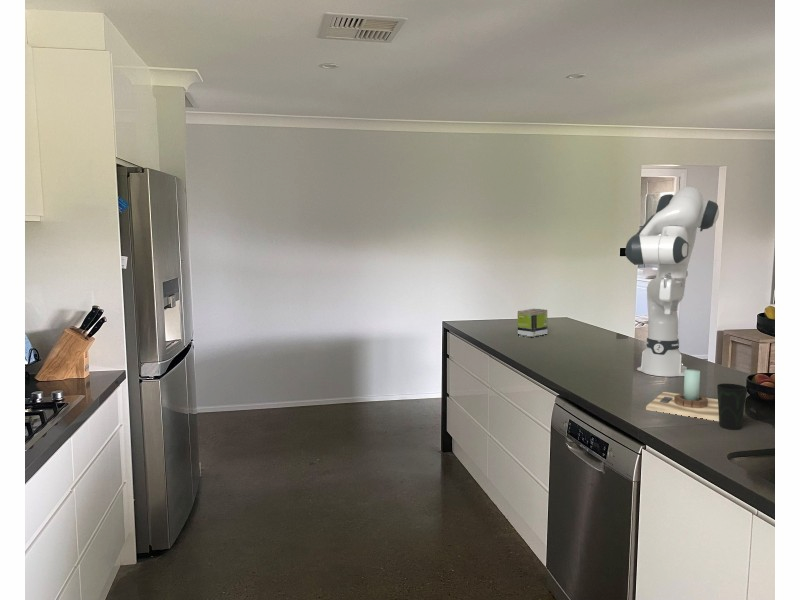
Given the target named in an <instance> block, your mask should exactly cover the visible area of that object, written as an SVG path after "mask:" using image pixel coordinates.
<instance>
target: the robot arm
mask: <svg viewBox="0 0 800 600" xmlns="http://www.w3.org/2000/svg"><path fill="white" fill-rule="evenodd" d="M654 210H655V211H654V212H655V213H654V214H652V215H651V216H650V217H648V219H647V220H646V221H645V223H643V225H642V226H641V228H640V229H639V230H638V231H637V232H636V234H634V235H633V236H631V237H630V238H629V239H628V240H627V242H626V245H625V249H624V250H625V252H624V253H625V257H626V259H627V260H628V261H629V262H630V263H631V264H633V265H634V266H639V265H657V268H656V269H657V270H656V276H655V277H654V278H652V279H650V281H649V282H648V283H647V286H646V298H647V301H646V302H647V304H646V305H647V314H648V325H647V326H648V330H647V332H648V333H647V337H646V343H645V344H646V348H645V349H644V350H643V351H642V353H641V354H642V355H641V365H640V366H638V367H637V368H636V370H637V371H639V372H642V373H644V374H647V375H651V376H656V377H666V378H667V377H684V375H685V370H686V369H688V367H687V366H685V365H684V363H683V362H682V354H681V352H680V350H679V349H680V340H679V316H678V310H679V309H678V308H679V307H678V306H679V303H681V301H682V300H683V299H684V295H685V289H686V281H687V280H686V279H687V278H688V275H689V274H688V268H689V263H690V259H691V256H692V253H693V249H694V247H695V241H696V237H697V231H698V228H699V232H700V233H701V232H703V230H708V229H710V228H712V227H713V226H714V224H716V222H717V221H718V219H719V215H720V210H719V205H718V203H716V202H714V201H712V200H705V199H703V195H702V193H701V191H700V190H699V189H697V188H696V187H693V186H685V187H682V188H680V189H678V190H677V192H676V193H675V194H673V193H672V194H670V193H669V194H663V195H662V196H660V198H659V199H658V201H656V204H655V208H654Z"/></svg>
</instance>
